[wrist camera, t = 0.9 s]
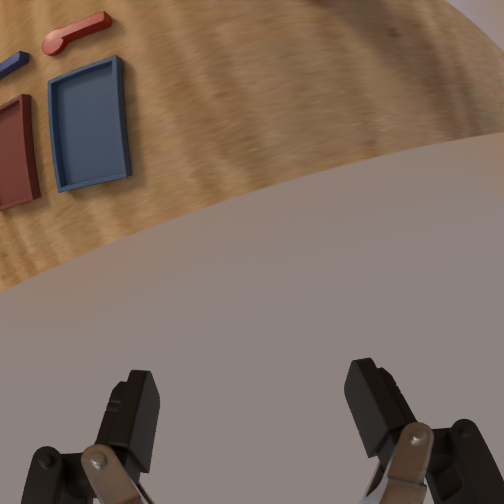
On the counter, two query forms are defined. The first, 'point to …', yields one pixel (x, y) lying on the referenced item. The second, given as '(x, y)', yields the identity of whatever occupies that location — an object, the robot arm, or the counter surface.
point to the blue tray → (89, 125)
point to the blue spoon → (13, 63)
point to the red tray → (17, 154)
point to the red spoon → (74, 32)
